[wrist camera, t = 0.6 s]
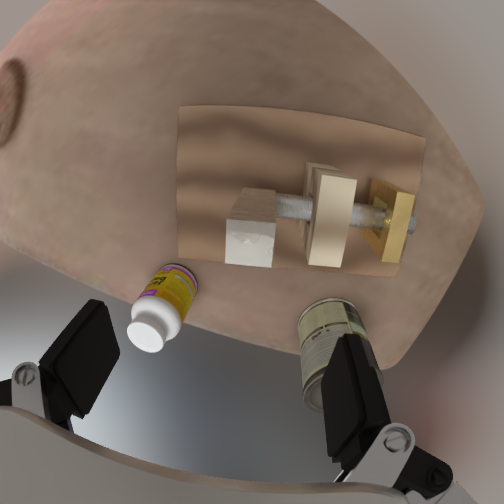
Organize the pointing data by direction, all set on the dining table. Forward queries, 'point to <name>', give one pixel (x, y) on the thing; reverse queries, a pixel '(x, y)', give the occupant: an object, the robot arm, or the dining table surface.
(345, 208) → the bearing stand
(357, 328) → the coffee can
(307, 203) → the crank handle
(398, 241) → the frame
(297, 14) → the dining table surface
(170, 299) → the supplement bottle
